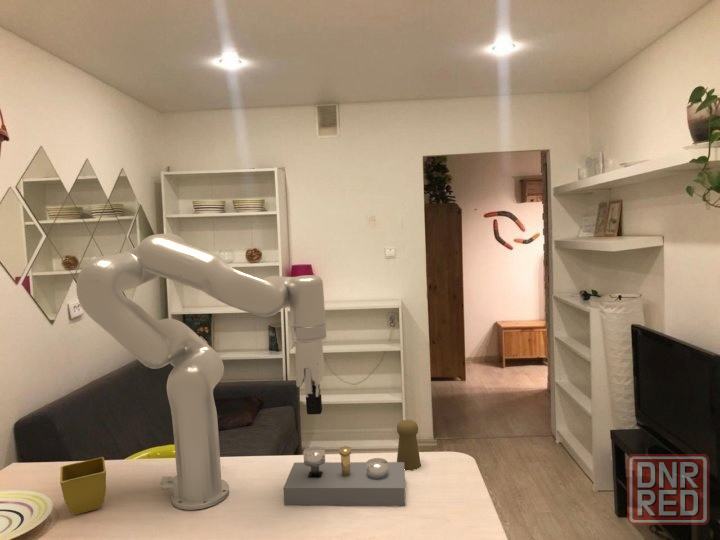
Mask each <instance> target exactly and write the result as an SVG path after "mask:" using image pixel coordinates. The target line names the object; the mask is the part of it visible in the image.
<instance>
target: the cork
mask: <svg viewBox="0 0 720 540" xmlns="http://www.w3.org/2000/svg"><path fill="white" fill-rule="evenodd" d="M418 432H419V427H418V423H417V422H416V421H414V420H411V419H404V420H401V421H399V422H398V424H397V425H396V433H397V434H398V446H397V456H396V462H404V469H405V471H407V470H411V471H414V470H413V469H416V470H418V469H420V468H421V467H422V463H421V459H420V458H421V457H420V456H421V455H420V452H419V445H418V440H417V435H418ZM419 467H420V468H419ZM417 468H418V469H417Z"/></svg>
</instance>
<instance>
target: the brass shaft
mask: <svg viewBox="0 0 720 540" xmlns="http://www.w3.org/2000/svg"><path fill="white" fill-rule="evenodd" d="M338 450H339V451H338V452H339V455H340V462H341V470H342V476H344V477H348V476H350V475H351V471H350V462H351V454H352V448H351V446H345V445H344V446H341V447H340V448H339V449H338Z"/></svg>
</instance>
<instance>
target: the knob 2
mask: <svg viewBox="0 0 720 540" xmlns="http://www.w3.org/2000/svg"><path fill="white" fill-rule="evenodd" d="M388 462H389V461H387V459H384V458H382V457H373V458H371V459H368V460H367V461H366V471H367V476H368V477H370V478H373V479H381V478H384V477H386V476H387V475H388Z"/></svg>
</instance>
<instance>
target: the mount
mask: <svg viewBox="0 0 720 540" xmlns="http://www.w3.org/2000/svg"><path fill="white" fill-rule="evenodd" d="M366 462H367V461H366ZM366 462H365V461H364V462H363V461H361V462H356V461H355V462H354V461H353V462H351V461H350V471H351V475H350V476H348V477H344V476H342V470H341V461H340V462H339V461H338V462H336V461H334V462H331V461H330V462H326V461H325V463H324V464H323V465H320V466H319V478H311V467H310V466H306V465H305V464H304V461H303V462H301V461H300V462H294V463H293V465H292V467H291V469H290V471H289V474H288V476H287V478H286V480H285V483H284V485H283V504H284V506H286V507H287V506H290V507H292V506H293V507H294V506H295V507H296V506H301V507H308V506H309V507H311V506H312V507H313V506H314V507H316V506H317V507H321V506H322V507H323V506H325V507H327V506H328V507H334V506H336V507H338V506H339V507H340V506H341V507H344V506H345V507H349V506H350V507H363V506H364V507H405V506H406V481H405V480H406V479H405V478H406V476H405V475H406V474H405V471H406V470H404V462H397V461H387V462H388V475H387V476H386V477H384V478H381V479H373V478H370V477H368V476H367V471H366Z"/></svg>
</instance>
